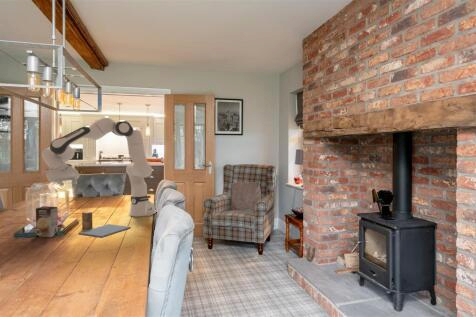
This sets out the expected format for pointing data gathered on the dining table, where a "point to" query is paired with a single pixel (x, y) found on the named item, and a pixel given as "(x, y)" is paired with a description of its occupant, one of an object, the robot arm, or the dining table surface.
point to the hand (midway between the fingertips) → (69, 184)
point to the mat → (104, 230)
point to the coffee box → (46, 221)
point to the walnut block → (87, 220)
